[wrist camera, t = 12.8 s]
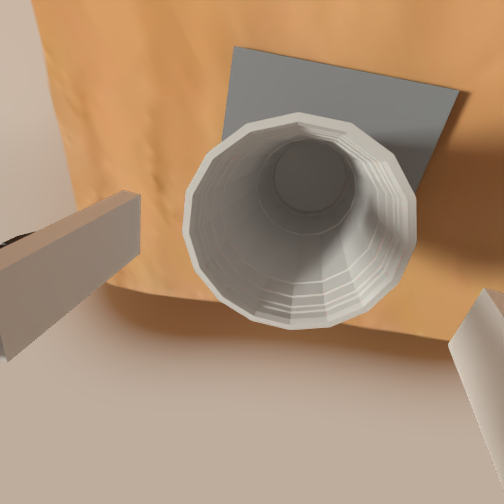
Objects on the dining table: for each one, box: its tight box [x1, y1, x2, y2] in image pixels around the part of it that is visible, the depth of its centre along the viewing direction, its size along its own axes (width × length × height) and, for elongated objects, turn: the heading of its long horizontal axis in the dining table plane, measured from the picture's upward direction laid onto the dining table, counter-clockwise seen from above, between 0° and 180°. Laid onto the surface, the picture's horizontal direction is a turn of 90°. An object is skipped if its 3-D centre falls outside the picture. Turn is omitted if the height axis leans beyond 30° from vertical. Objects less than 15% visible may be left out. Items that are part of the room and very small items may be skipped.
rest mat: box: [222, 46, 459, 194], centre depth 26 cm, size 15×15×1 cm
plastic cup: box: [182, 112, 417, 330], centre depth 20 cm, size 11×11×12 cm
